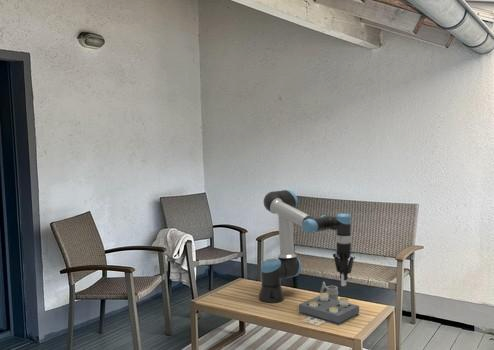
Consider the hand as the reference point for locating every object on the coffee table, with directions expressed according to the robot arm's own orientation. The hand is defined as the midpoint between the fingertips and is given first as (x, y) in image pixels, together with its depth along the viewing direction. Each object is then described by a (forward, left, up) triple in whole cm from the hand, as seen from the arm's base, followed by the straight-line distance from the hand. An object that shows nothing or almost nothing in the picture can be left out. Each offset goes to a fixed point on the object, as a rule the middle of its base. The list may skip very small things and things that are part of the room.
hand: (343, 285), depth 263 cm
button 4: (0, 0, -13) cm, 13 cm away
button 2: (-13, 0, -13) cm, 18 cm away
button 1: (-13, -10, -16) cm, 22 cm away
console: (-7, -5, -16) cm, 18 cm away
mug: (-17, +10, -17) cm, 26 cm away
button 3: (0, -10, -16) cm, 18 cm away
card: (-6, -20, -16) cm, 26 cm away
